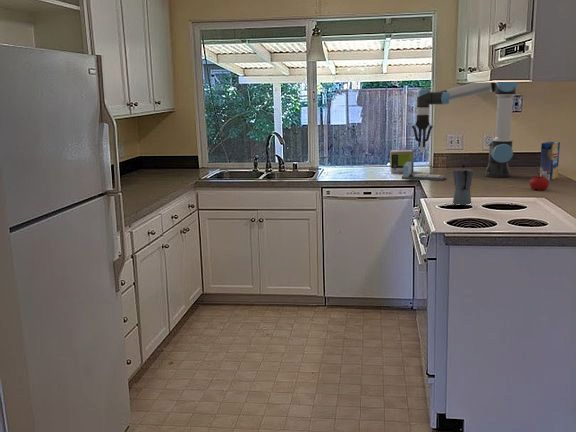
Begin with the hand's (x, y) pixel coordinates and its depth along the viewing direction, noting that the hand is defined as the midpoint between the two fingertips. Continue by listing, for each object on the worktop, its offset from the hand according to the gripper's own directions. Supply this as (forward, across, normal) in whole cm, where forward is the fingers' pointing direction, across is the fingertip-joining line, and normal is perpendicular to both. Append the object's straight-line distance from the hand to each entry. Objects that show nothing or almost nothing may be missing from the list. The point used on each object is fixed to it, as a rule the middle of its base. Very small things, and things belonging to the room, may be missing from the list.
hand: (421, 152), depth 382 cm
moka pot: (+17, -37, +80) cm, 90 cm away
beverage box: (+17, -74, -20) cm, 78 cm away
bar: (+14, +7, +6) cm, 16 cm away
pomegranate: (+17, -70, +23) cm, 76 cm away
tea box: (+17, +18, -23) cm, 34 cm away
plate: (+17, -2, 0) cm, 17 cm away
